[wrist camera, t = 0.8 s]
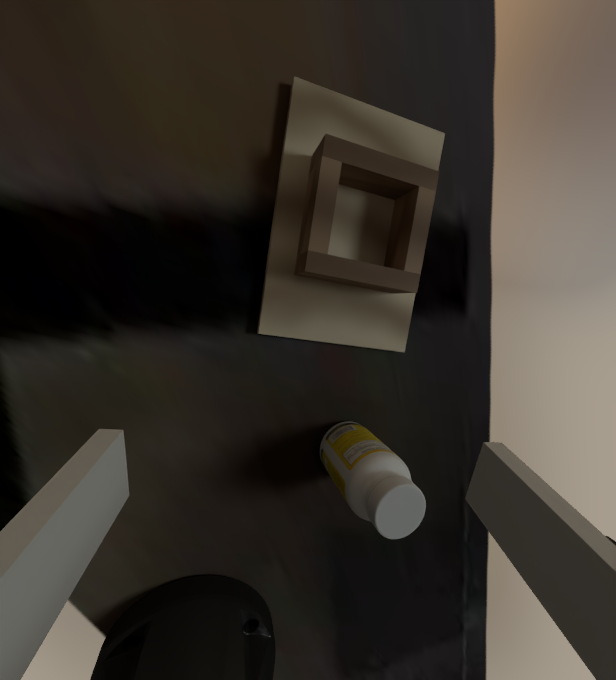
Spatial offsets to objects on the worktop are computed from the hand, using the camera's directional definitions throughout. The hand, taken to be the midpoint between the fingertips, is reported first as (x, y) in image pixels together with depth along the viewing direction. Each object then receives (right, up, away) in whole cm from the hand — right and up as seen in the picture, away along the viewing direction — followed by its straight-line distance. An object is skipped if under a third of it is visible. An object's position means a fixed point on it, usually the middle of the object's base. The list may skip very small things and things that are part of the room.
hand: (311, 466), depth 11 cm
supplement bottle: (+3, -6, +19) cm, 20 cm away
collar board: (+4, +14, +16) cm, 22 cm away
